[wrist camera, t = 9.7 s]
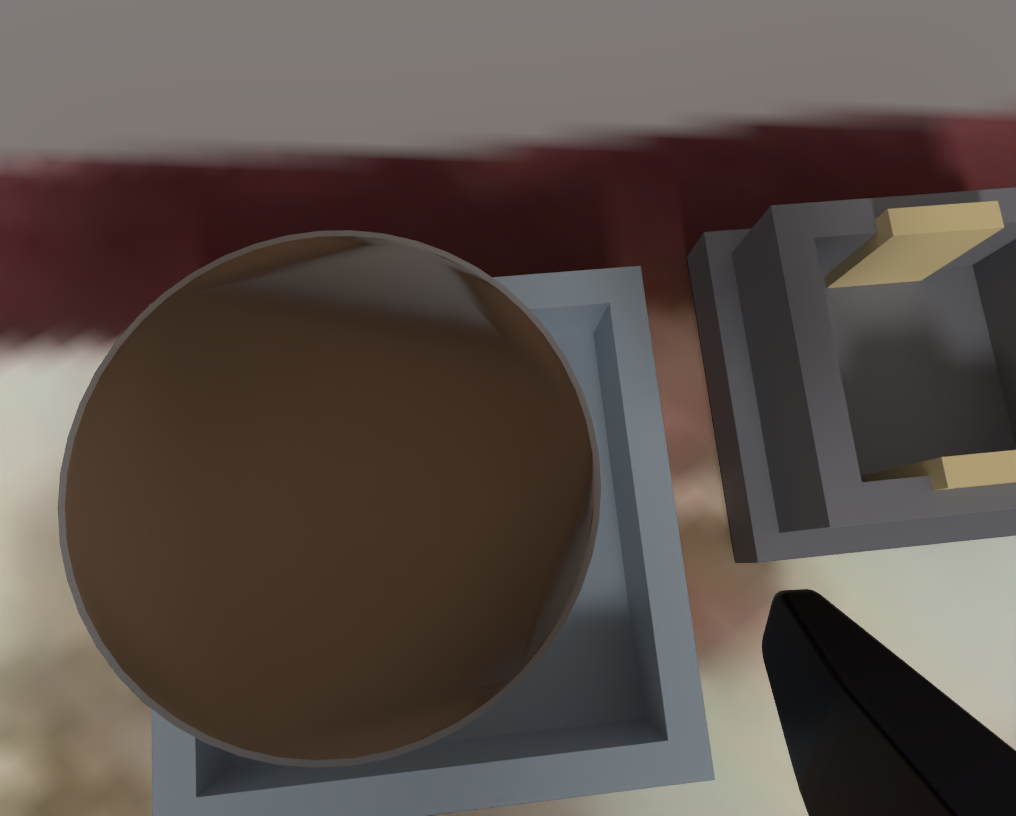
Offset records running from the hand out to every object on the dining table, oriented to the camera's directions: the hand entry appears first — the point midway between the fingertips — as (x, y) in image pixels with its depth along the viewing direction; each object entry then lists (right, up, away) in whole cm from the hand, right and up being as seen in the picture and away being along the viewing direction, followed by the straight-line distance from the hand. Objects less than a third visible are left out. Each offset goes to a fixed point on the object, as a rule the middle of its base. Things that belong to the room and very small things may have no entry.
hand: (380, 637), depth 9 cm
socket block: (+11, +3, +11) cm, 16 cm away
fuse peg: (0, 0, +9) cm, 9 cm away
